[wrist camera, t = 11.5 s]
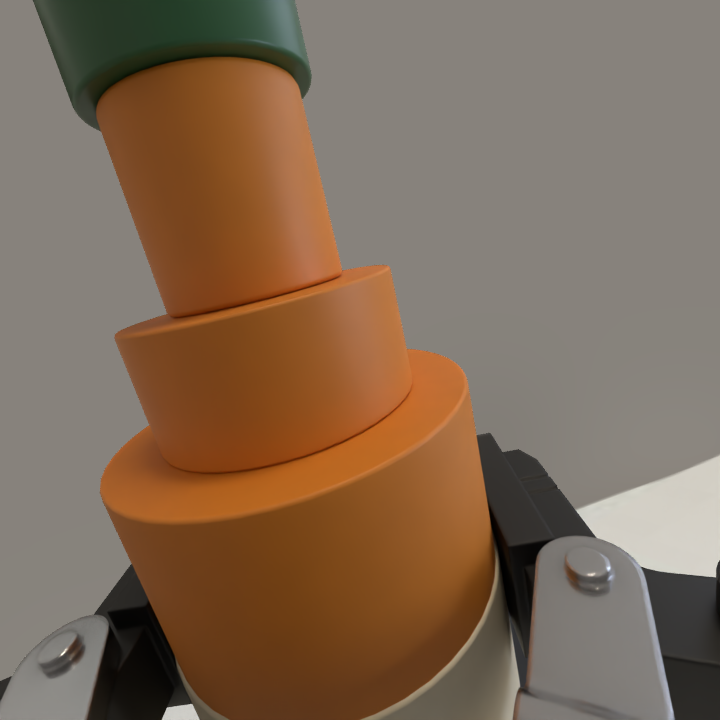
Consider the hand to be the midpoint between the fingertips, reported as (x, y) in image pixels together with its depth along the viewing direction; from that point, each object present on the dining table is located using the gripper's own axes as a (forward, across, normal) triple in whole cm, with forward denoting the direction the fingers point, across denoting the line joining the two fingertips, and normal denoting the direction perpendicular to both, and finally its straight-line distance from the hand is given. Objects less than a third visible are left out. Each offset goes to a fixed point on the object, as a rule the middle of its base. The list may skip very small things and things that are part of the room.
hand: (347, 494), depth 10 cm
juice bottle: (-2, 0, +8) cm, 9 cm away
